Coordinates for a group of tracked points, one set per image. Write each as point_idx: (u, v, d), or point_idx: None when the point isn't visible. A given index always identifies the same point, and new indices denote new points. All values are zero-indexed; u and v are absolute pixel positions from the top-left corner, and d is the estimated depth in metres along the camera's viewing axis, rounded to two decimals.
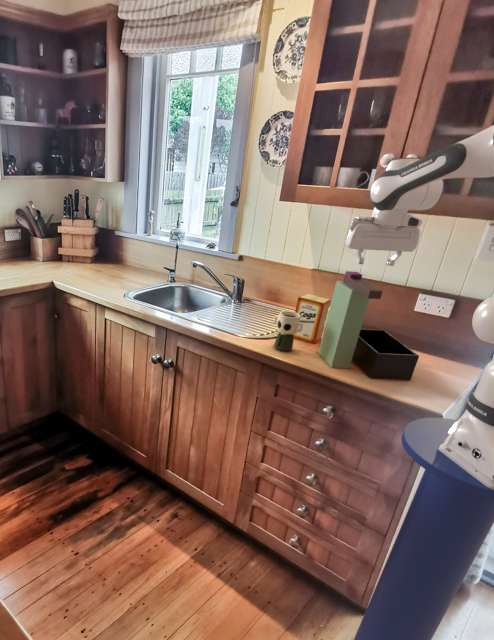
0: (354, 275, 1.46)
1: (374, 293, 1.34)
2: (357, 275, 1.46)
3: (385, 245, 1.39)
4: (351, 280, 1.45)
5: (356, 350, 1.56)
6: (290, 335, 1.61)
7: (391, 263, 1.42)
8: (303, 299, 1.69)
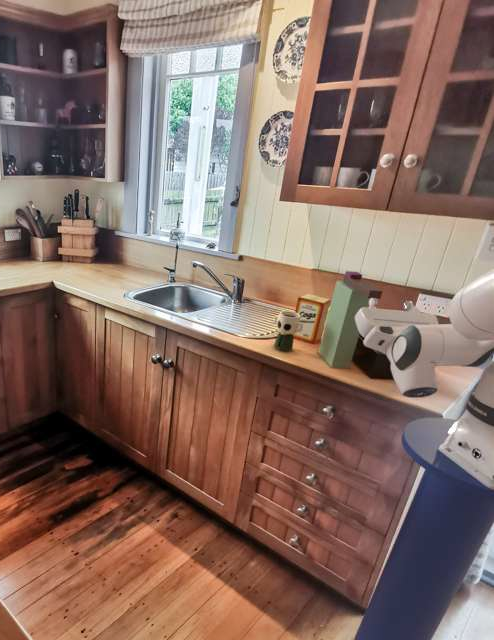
0: (354, 275, 1.46)
1: (374, 293, 1.34)
2: (357, 275, 1.46)
3: (396, 313, 1.21)
4: (351, 280, 1.45)
5: (356, 350, 1.56)
6: (290, 335, 1.61)
7: (375, 299, 1.25)
8: (303, 299, 1.69)
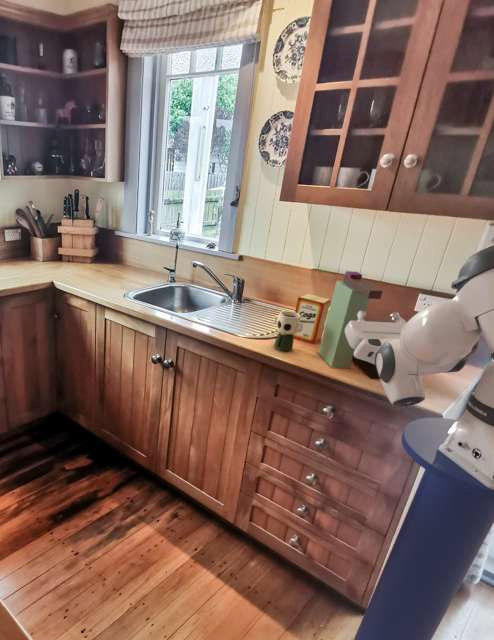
0: (354, 275, 1.46)
1: (374, 293, 1.34)
2: (357, 275, 1.46)
3: (384, 325, 1.27)
4: (351, 280, 1.45)
5: None
6: (290, 335, 1.61)
7: (363, 312, 1.31)
8: (303, 299, 1.69)
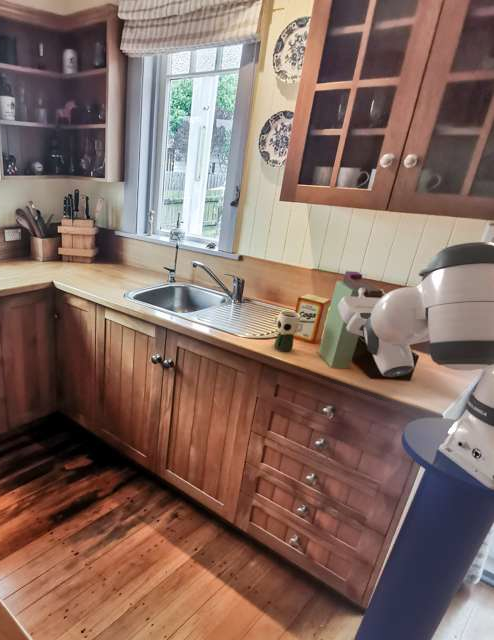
0: (354, 275, 1.46)
1: (374, 293, 1.34)
2: (357, 275, 1.46)
3: (375, 301, 1.32)
4: (351, 280, 1.45)
5: (356, 350, 1.56)
6: (290, 335, 1.61)
7: (364, 289, 1.36)
8: (303, 299, 1.69)
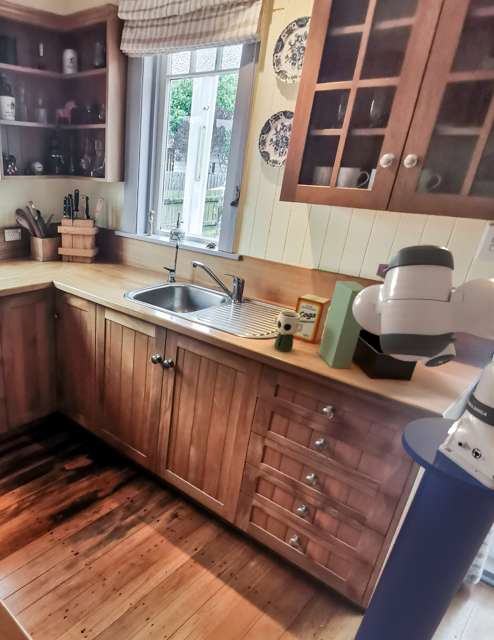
0: None
1: None
2: None
3: None
4: None
5: (356, 350, 1.56)
6: (290, 335, 1.61)
7: None
8: (303, 299, 1.69)
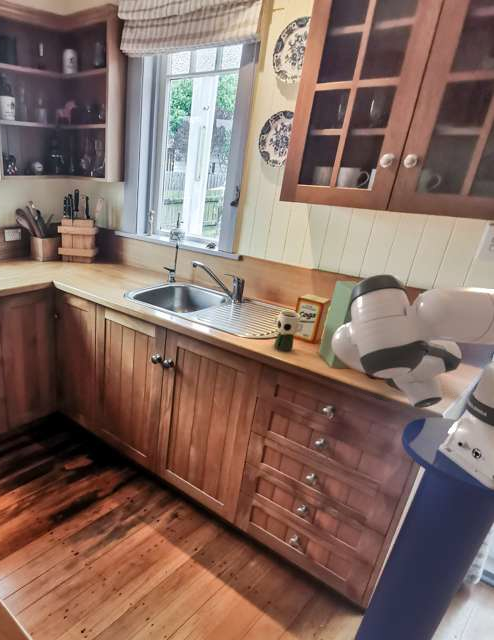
0: None
1: None
2: None
3: None
4: None
5: None
6: (290, 335, 1.61)
7: None
8: (303, 299, 1.69)
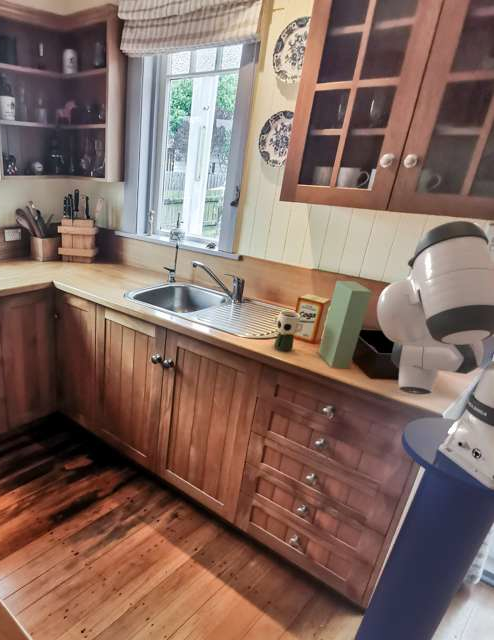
0: None
1: None
2: None
3: None
4: None
5: (356, 350, 1.56)
6: (290, 335, 1.61)
7: None
8: (303, 299, 1.69)
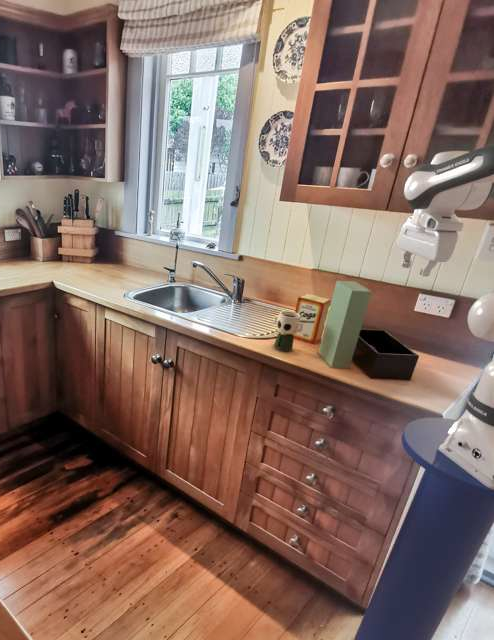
0: None
1: None
2: None
3: (416, 248, 1.24)
4: None
5: (356, 350, 1.56)
6: (290, 335, 1.61)
7: (421, 272, 1.23)
8: (303, 299, 1.69)
